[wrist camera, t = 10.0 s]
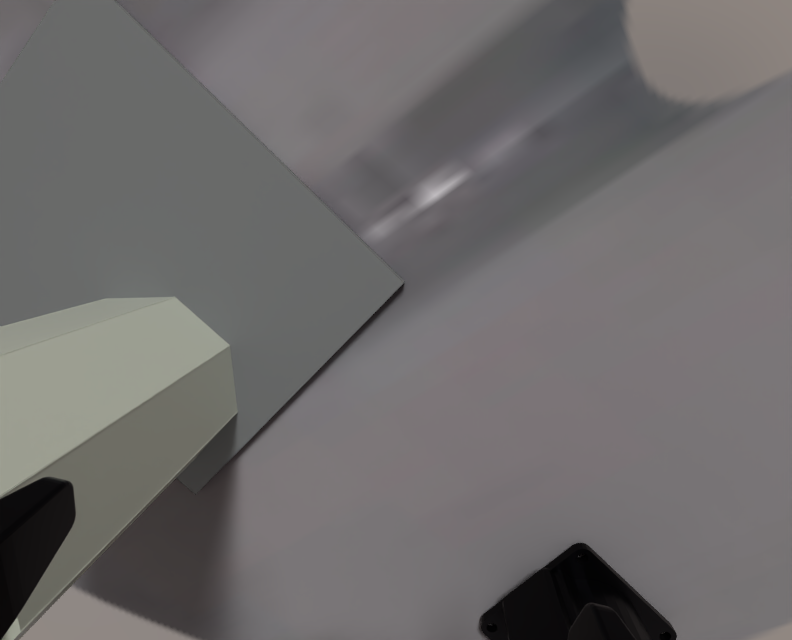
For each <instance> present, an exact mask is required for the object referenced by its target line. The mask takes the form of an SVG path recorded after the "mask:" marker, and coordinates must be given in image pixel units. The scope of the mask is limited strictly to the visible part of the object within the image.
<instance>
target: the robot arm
mask: <svg viewBox="0 0 792 640" xmlns="http://www.w3.org/2000/svg"><path fill="white" fill-rule="evenodd" d="M75 517H76V508H75V498H74V487H73V484H72V483H71V482H70V481H68V480H64V479H60V478H55V477H43V478H40V479H38V480H36V481H34V482H32V483H30V484H28V485H26V486H24V487H22V488H20V489H18V490H16V491H14V492H12V493H11V494H9V495H7V496H5V497H3V498H1V499H0V640H1V639H2V638H3V636H4V635H5V634H6V632H7V631H8V629H9V628H10V627H11V625H12V624H13V622H14V621H15V620H16V618H17V616H18V615H19V613H20V612H21V610H22V609H23V607H24V606H25V604H26V602H27V601H28V599H29V597H30V596H31V594H32V592H33V591H34V589H35V588H36V586H37V584H38V583H39V581H40V579H41V578H42V576H43V574H44V573H45V571H46V569H47V568H48V566H49V565H50V563H51V561H52V560H53V558H54V556H55V555H56V553H57V551H58V550H59V548H60V547H61V545H62V543H63V542H64V540H65V538H66V537H67V535H68V533H69V532H70V530H71V528H72V526H73V524H74V521H75ZM580 554H586V555H585V556H584V557H578V555H580ZM480 621H481V629H482V631H483V633H484V634H485V635H486V636H487V637H488V638H489V639H491V640H676V638H677V635H676V632H675V630H674V629H673V627H672V625H671V624H670V623H669V622H668V621H667V620H666V619H665V618H664V617H663V616H662V615H661V614H660V613H659V612H658V611H657V610H656V609H655V608H654V607H653V606H651V605H650V604H649V603H648V602H647V601H646V600H645V599H644V598H643V597H642V596H641V595H640V594H639V593H638V592H637V591H636V590H635V589H634V588H633V587H631V586H630V585H629V584H628V583H627V582H626V581H625V580H624V579H623V578H622V577H621V576H620V575H619V574H618V573H617V572H616V571H615V570H614V569H612V568H611V567H610V566H609V565H608V564H607V563H606V562H605V561H604V560H603V559H602V558H601V557H600V556H599V555H598V554H597V553H596V552H595V551H594V550H592V549H591V548H590V547H589V546H588V545H586V544H584V543H576V544H574V545H573V546H571V547H570V548H569V549H567V550H566V551H565V552H564V553H562V554H561V555H560V556H558V557H557V558H556V559H554V560H553V561H552V562H551V563H549V564H548V565H547V566H545V567H544V568H543V569H541V570H539V571H538V572H537V573H535V574H534V575H533V576H532V577H530V578H529V579H528V580H526V581H525V582H524V583H523V584H521V585H520V586H519V587H517V588H516V589H515V590H514V591H512V592H511V593H510V594H508V595H507V596H506V597H504V598H503V600H501V601H500V602H499V603H498V604H496V605H495V606H494V607H492V608H491V609H490V610H489V611H487V612H486V613H485V614H483V616H482V617H481V620H480ZM490 623H494V625H488V624H490ZM662 632H665V633H663V634H661V633H662Z"/></svg>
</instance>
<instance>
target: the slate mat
mask: <svg viewBox="0 0 792 640" xmlns="http://www.w3.org/2000/svg"><path fill="white" fill-rule="evenodd" d="M404 282H405V281H404V280H403V279H402V278H401V277H400V276H399V275H398V274H397V273H396V272H394V271H393V270H392V269H391V268H390V267H389V266H388V265H387V264H386V263H385V262H384V261H383V260H382V259H381V258H380V257H379V256H378V255H377V254H376V253H375V252H374V251H373V250H372V249H371V248H370V247H369V246H368V245H367V244H366V243H365V242H364V241H363V240H362V239H361V238H360V237H359V236H357V235H356V234H355V233H354V232H353V231H352V230H351V229H350V228H349V227H348V226H347V225H346V224H345V223H344V222H343V221H342V220H341V219H340V218H339V217H338V216H337V215H336V214H335V213H334V212H333V211H332V210H331V209H330V208H329V207H328V206H327V205H326V204H325V203H324V202H323V201H322V200H320V199H319V198H318V197H317V196H316V195H315V194H314V193H313V192H312V191H311V190H310V189H309V188H308V187H307V186H306V185H305V184H304V183H303V182H302V181H301V180H300V179H299V178H298V177H297V176H296V175H295V174H294V173H293V172H292V171H291V170H290V169H289V168H288V167H287V166H286V165H285V164H283V163H282V162H281V161H280V160H279V159H278V158H277V157H276V156H275V155H274V154H273V153H272V152H271V151H270V150H269V149H268V148H267V147H266V146H265V145H264V144H263V143H262V142H261V141H260V140H259V139H258V138H257V137H256V136H255V135H254V134H253V133H252V132H251V131H250V130H249V129H248V128H246V127H245V126H244V125H243V124H242V123H241V122H240V121H239V120H238V119H237V118H236V117H235V116H234V115H233V114H232V113H231V112H230V111H229V110H228V109H227V108H226V107H225V106H224V105H223V104H222V103H221V102H220V101H219V100H218V99H217V98H216V97H215V96H214V95H213V94H212V93H211V92H209V91H208V90H207V89H206V88H205V87H204V86H203V85H202V84H201V83H200V82H199V81H198V80H197V79H196V78H195V77H194V76H193V75H192V74H191V73H190V72H189V71H188V70H187V69H186V68H185V67H184V66H183V65H182V64H181V63H180V62H179V61H178V60H177V59H176V58H175V57H174V56H172V55H171V54H170V53H169V52H168V51H167V50H166V49H165V48H164V47H163V46H162V45H161V44H160V43H159V42H158V41H157V40H156V39H155V38H154V37H153V36H152V35H151V34H150V33H149V32H148V31H147V30H146V29H145V28H144V27H143V26H142V25H141V24H140V23H139V22H138V21H136V20H135V19H134V18H133V17H132V16H131V15H130V14H129V13H128V12H127V11H126V10H125V9H124V8H123V7H122V6H121V5H120V4H119V3H118V2H117V1H116V0H55V1H54V2H53V4H52V6H51V7H50V9H49V10H48V12H47V13H46V15H45V16H44V18H43V19H42V21H41V22H40V24H39V25H38V27H37V28H36V30H35V31H34V33H33V34H32V36H31V37H30V39H29V41H28V42H27V44H26V45H25V47H24V48H23V50H22V51H21V53H20V54H19V56H18V57H17V59H16V60H15V62H14V63H13V65H12V66H11V68H10V69H9V71H8V72H7V74H6V76H5V77H4V79H3V80H2V82H1V83H0V326H1V327H2V326H5V325H9V324H13V323H16V322H20V321H24V320H28V319H31V318H35V317H39V316H43V315H46V314H50V313H54V312H58V311H61V310H65V309H69V308H72V307H76V306H80V305H84V304H87V303H91V302H95V301H99V300H102V299H106V298H149V297H176V298H177V299H178V300H179V301H180V302H181V303H183V304H184V305H185V306H186V307H187V308H188V309H189V310H191V311H192V312H193V313H194V314H195V315H196V316H197V317H198V318H200V319H201V320H202V321H203V322H204V323H205V324H206V325H207V326H209V327H210V328H211V329H212V330H213V331H214V332H215V333H217V334H218V335H219V336H220V337H221V338H222V339H223V340H224V341H226V342H227V343H228V344H229V345H230V350H231V359H232V368H233V376H234V385H235V394H236V403H237V411H238V412H237V413H236V414H235V415H234V416H233V417H232V419H231V420H230V421H229V422H228V423H227V424H226V425H225V426H224V427H223V428H222V429H221V430H220V432H219V433H218V434H217V435H216V436H215V437H214V438H213V439H212V440H211V441H210V442H209V444H208V445H207V446H206V447H205V448H204V449H203V450H202V451H201V452H200V453H199V454H198V455H197V457H196V458H195V459H194V460H193V461H192V462H191V463H190V464H189V465H188V466H187V467H186V468H185V469H184V470H183V471H182V472H181V473H180V474H179V475H178V476H177V479H178V480H179V481H180V482H181V483H183V484H184V485H185V486H186V487H187V488H188V489H189V490H191V491H192V492H193V493H194V494H195V495H196V494H197V493H198V492H199V491H200V490H201V489H202V488H203V487H204V486H205V485H206V484H207V483H208V482H209V481H210V480H211V479H212V478H213V477H214V476H215V474H216V473H217V472H218V471H219V470H220V469H221V468H222V467H223V466H224V465H225V464H226V463H227V462H228V461H229V460H230V459H231V458H232V457H233V456H234V455H235V454H236V453H237V452H238V451H239V450H240V449H241V448H242V447H243V446H244V445H245V444H246V443H247V442H248V441H249V440H250V439H251V438H252V437H253V436H254V435H255V434H256V433H257V432H258V431H259V430H260V429H261V428H262V427H263V426H264V425H265V424H266V423H267V422H268V421H269V420H270V419H271V418H272V417H273V415H274V414H275V413H276V412H277V411H278V410H279V409H280V408H281V407H282V406H283V405H284V404H285V403H286V402H287V401H288V400H289V399H290V398H291V397H292V396H293V395H294V394H295V393H296V392H297V391H298V390H299V389H300V388H301V387H302V386H303V385H304V384H305V383H306V382H307V381H308V380H309V379H310V378H311V377H312V376H313V375H314V374H315V373H316V372H317V371H318V370H319V369H320V368H321V367H322V366H323V365H324V364H325V363H326V362H327V361H328V360H329V359H330V358H331V356H332V355H333V354H334V353H335V352H336V351H337V350H338V349H339V348H340V347H341V346H342V345H343V344H344V343H345V342H346V341H347V340H348V339H349V338H350V337H351V336H352V335H353V334H354V333H355V332H356V331H357V330H358V329H359V328H360V327H361V326H362V325H363V324H364V323H365V322H366V321H367V320H368V319H369V318H370V317H371V316H372V315H373V314H374V313H375V312H376V311H377V310H378V309H379V308H380V307H381V306H382V305H383V304H384V303H385V302H386V301H387V300H388V299H389V297H390V296H391V295H392V294H393V293H394V292H395V291H396V290H397V289H398V288H399V287H400V286H401V285H402V284H403V283H404Z"/></svg>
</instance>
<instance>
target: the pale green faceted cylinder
mask: <svg viewBox="0 0 792 640" xmlns="http://www.w3.org/2000/svg"><path fill="white" fill-rule="evenodd" d="M237 412H238V411H237V403H236V394H235V385H234V376H233V368H232V359H231V350H230V345H229V344H228V343H227V342H226V341H224V340H223V339H222V338H221V337H220V336H219V335H218V334H217V333H215V332H214V331H213V330H212V329H211V328H210V327H209V326H207V325H206V324H205V323H204V322H203V321H202V320H201V319H200V318H198V317H197V316H196V315H195V314H194V313H193V312H192V311H191V310H189V309H188V308H187V307H186V306H185V305H184V304H183V303H181V302H180V301H179V300H178V299H177V298H176V297H149V298H106V299H102V300H99V301H95V302H91V303H87V304H84V305H80V306H76V307H72V308H69V309H65V310H61V311H58V312H54V313H50V314H46V315H43V316H39V317H35V318H31V319H28V320H24V321H20V322H16V323H13V324H9V325H5V326H2V327H0V499H1V498H3V497H5V496H7V495H9V494H11V493H12V492H14V491H16V490H18V489H20V488H22V487H24V486H26V485H28V484H30V483H32V482H34V481H36V480H38V479H40V478H43V477H55V478H60V479H64V480H68V481H70V482H71V483H72V484H73V487H74V498H75V508H76V517H75V521H74V524H73V526H72V528H71V530H70V532H69V533H68V535H67V537H66V538H65V540H64V542H63V543H62V545H61V547H60V548H59V550H58V551H57V553H56V555H55V556H54V558H53V560H52V561H51V563H50V565H49V566H48V568H47V569H46V571H45V573H44V574H43V576H42V578H41V579H40V581H39V583H38V584H37V586H36V588H35V589H34V591H33V592H32V594H31V596H30V597H29V599H28V601H27V602H26V604H25V606H24V607H23V609H22V610H21V612H20V613H19V615H18V616H17V618H16V620H15V621H14V622H13V624H12V625H11V627H10V628H9V629H8V631H7V632H6V634H5V635H4V636H3V638H2V639H1V640H19V639H20V638H21V637H22V636H23V635H24V634H25V633H26V632H27V631H28V630H29V629H30V628H31V627H32V626H33V625H34V624H35V623H36V622H37V621H38V620H39V619H40V617H42V615H43V614H44V613H45V612H46V611H47V610H48V609H49V608H50V607H51V606H52V605H53V604H54V603H55V602H56V601H57V600H58V599H59V598H60V597H61V596H62V595H63V594H64V593H65V592H66V591H67V590H68V589H69V588H70V587H71V586H72V585H73V584H74V583H75V582H76V580H77V579H78V578H79V577H80V576H81V575H82V574H83V573H84V572H85V571H86V570H87V569H88V568H89V567H90V566H91V565H92V564H93V563H94V562H95V561H96V560H97V559H98V558H99V557H100V556H101V555H102V554H103V553H104V552H105V551H106V550H107V549H108V548H109V546H110V545H111V544H112V543H113V542H114V541H115V540H116V539H117V538H118V537H119V536H120V535H121V534H122V533H123V532H124V531H125V530H126V529H127V528H128V527H129V526H130V525H131V524H132V523H133V522H134V521H135V520H136V519H137V518H138V517H139V516H140V515H141V514H142V513H143V511H144V510H145V509H146V508H147V507H148V506H149V505H150V504H151V503H152V502H153V501H154V500H155V499H156V498H157V497H158V496H159V495H160V494H161V493H162V492H163V491H164V490H165V489H166V488H167V487H168V486H169V485H170V484H171V483H172V482H173V481H174V480H175V479H176V478H177V476H178V475H179V474H180V473H181V472H182V471H183V470H184V469H185V468H186V467H187V466H188V465H189V464H190V463H191V462H192V461H193V460H194V459H195V458H196V457H197V455H198V454H199V453H200V452H201V451H202V450H203V449H204V448H205V447H206V446H207V445H208V444H209V442H210V441H211V440H212V439H213V438H214V437H215V436H216V435H217V434H218V433H219V432H220V430H221V429H222V428H223V427H224V426H225V425H226V424H227V423H228V422H229V421H230V420H231V419H232V417H233V416H234V415H235V414H236V413H237Z"/></svg>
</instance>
